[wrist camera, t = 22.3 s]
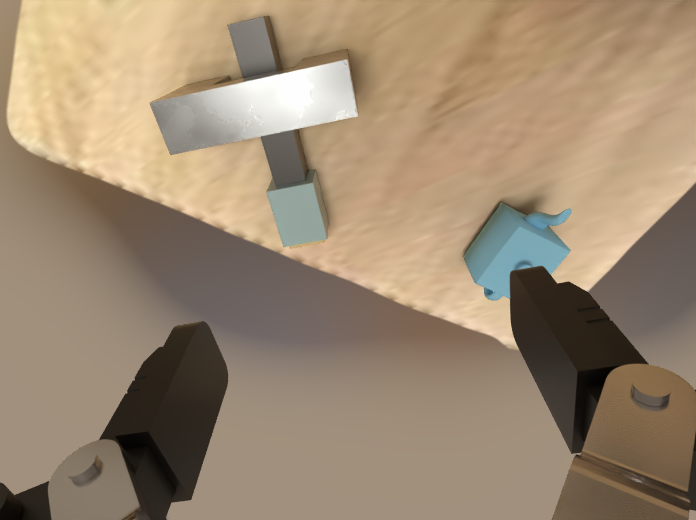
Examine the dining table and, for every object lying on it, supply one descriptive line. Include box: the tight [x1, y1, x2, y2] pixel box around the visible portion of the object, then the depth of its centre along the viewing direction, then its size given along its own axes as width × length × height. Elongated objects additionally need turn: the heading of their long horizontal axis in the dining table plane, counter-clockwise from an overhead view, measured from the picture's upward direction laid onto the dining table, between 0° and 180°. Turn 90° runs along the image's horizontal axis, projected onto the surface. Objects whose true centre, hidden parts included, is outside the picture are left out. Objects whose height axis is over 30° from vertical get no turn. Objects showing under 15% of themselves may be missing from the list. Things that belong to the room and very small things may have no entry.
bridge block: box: [150, 49, 358, 155], centre depth 37 cm, size 15×4×9 cm, turn 101°
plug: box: [228, 16, 329, 249], centre depth 42 cm, size 21×4×4 cm, turn 11°
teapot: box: [463, 202, 571, 300], centre depth 45 cm, size 12×6×8 cm, turn 154°
